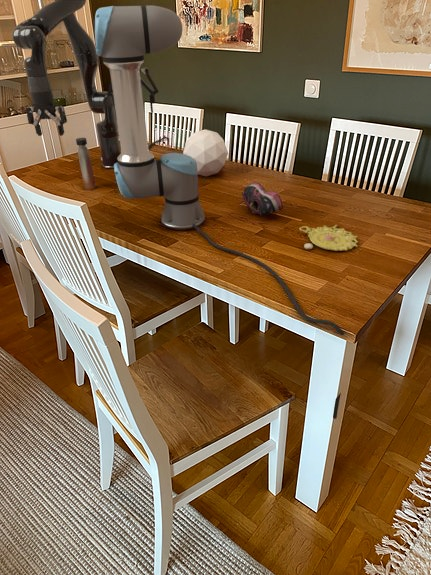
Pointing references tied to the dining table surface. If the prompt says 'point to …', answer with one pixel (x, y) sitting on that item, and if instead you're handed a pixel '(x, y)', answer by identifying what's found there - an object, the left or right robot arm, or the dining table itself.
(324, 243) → the decorative object
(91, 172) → the bottle
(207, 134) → the sphere
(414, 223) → the dining table surface
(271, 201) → the athletic shoe
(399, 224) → the dining table surface
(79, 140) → the cap
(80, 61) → the left robot arm
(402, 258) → the dining table surface
